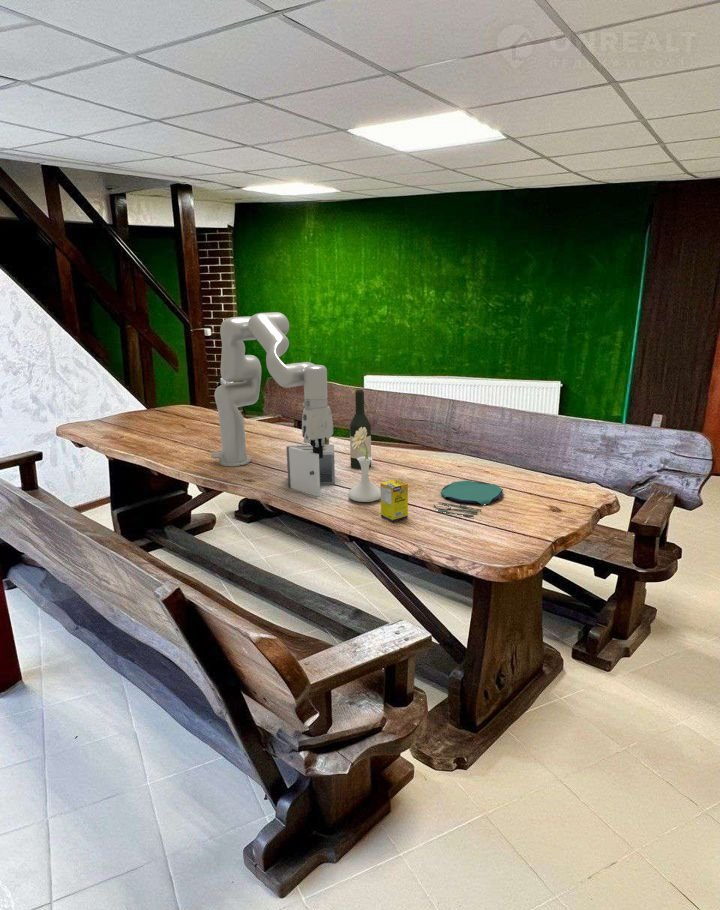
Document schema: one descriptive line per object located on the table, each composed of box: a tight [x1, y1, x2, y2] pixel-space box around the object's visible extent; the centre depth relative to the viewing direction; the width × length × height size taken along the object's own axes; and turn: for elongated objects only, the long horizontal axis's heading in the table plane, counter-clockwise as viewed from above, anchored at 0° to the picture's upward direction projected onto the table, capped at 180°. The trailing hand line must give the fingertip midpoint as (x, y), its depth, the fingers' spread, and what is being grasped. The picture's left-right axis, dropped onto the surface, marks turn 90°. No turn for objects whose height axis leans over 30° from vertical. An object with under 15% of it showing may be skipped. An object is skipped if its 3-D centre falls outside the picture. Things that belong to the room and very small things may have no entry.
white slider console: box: [289, 444, 336, 486], centre depth 216 cm, size 16×10×12 cm, turn 92°
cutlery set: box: [433, 479, 504, 518], centre depth 196 cm, size 20×30×2 cm, turn 148°
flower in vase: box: [347, 427, 381, 503], centre depth 194 cm, size 13×11×25 cm
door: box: [286, 445, 321, 498], centre depth 205 cm, size 16×2×14 cm, turn 46°
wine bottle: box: [349, 388, 372, 470], centre depth 230 cm, size 8×8×30 cm
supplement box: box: [380, 478, 409, 522], centre depth 181 cm, size 6×6×11 cm
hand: (318, 457), depth 202 cm, fingers closed
